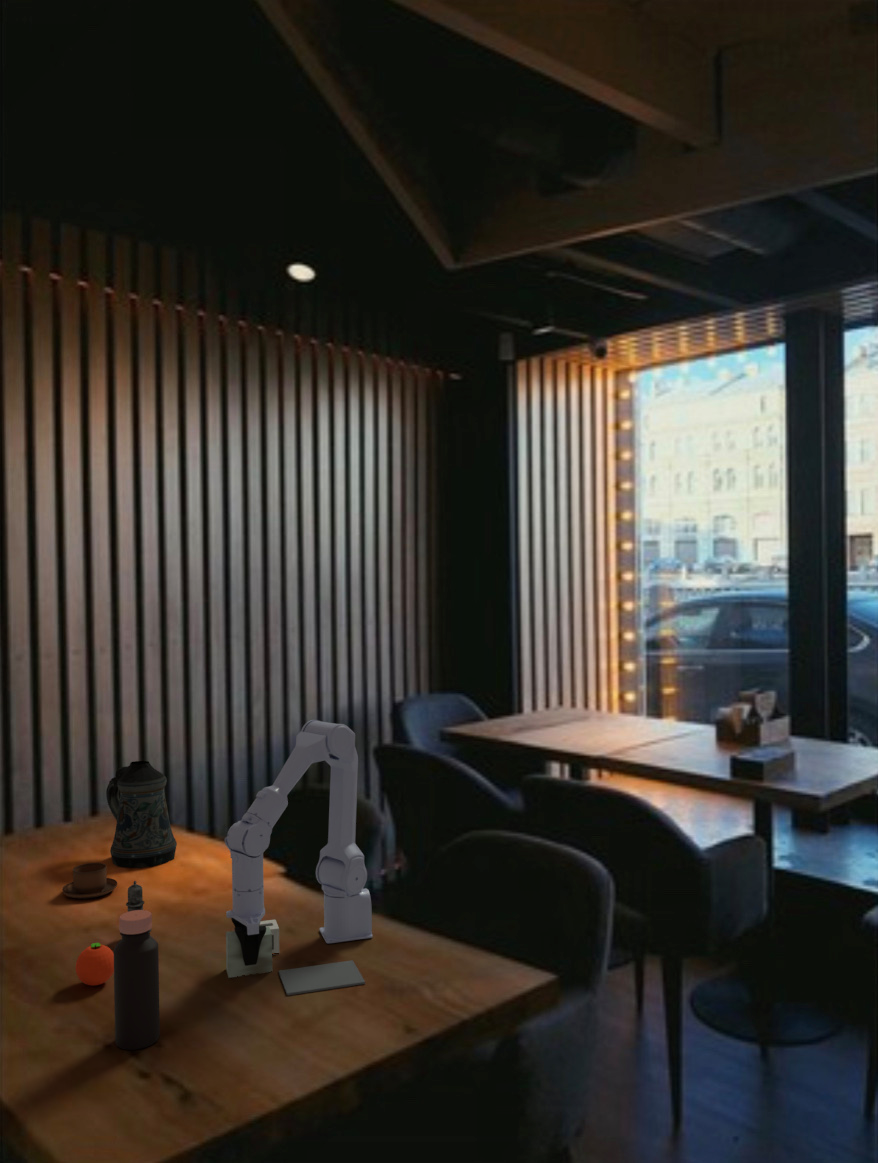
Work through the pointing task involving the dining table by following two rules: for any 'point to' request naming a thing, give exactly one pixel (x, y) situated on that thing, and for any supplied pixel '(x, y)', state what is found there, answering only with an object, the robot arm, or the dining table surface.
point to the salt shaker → (135, 897)
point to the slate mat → (320, 977)
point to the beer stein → (140, 817)
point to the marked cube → (273, 933)
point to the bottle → (136, 982)
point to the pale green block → (235, 957)
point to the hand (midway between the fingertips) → (249, 959)
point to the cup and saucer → (89, 882)
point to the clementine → (95, 964)
